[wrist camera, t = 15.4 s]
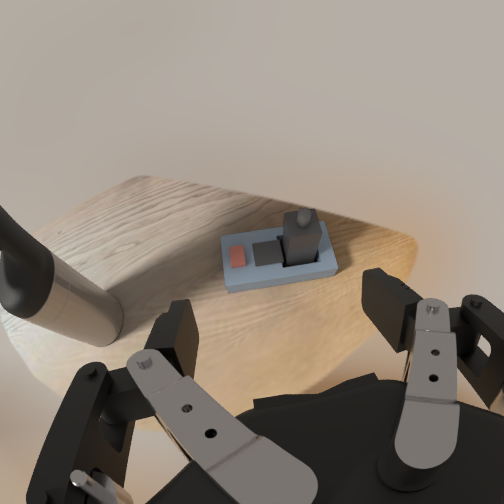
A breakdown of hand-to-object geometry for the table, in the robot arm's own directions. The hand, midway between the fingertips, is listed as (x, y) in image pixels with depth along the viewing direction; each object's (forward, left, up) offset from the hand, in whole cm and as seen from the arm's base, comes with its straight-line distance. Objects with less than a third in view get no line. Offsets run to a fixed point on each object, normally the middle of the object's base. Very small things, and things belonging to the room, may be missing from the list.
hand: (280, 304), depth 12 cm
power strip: (+3, +14, -26) cm, 30 cm away
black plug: (+6, +14, -26) cm, 30 cm away
